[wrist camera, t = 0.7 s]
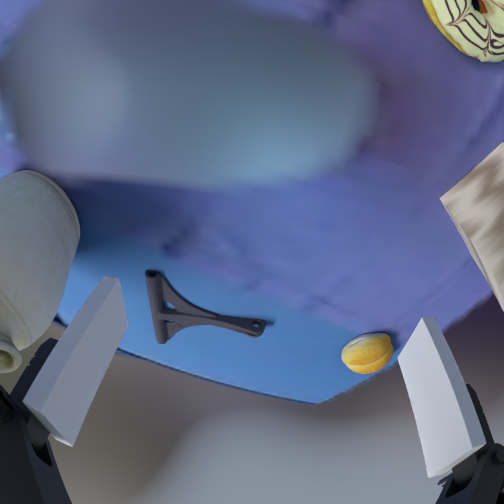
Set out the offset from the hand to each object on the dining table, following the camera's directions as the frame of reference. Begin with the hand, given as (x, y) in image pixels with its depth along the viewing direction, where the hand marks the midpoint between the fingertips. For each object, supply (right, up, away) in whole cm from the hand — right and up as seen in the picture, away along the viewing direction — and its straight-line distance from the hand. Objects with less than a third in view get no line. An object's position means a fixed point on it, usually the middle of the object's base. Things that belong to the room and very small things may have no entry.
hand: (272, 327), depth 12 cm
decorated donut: (+16, +24, 0) cm, 29 cm away
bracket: (-7, -5, +27) cm, 28 cm away
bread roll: (+17, -12, +31) cm, 38 cm away
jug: (-25, +7, +15) cm, 30 cm away
